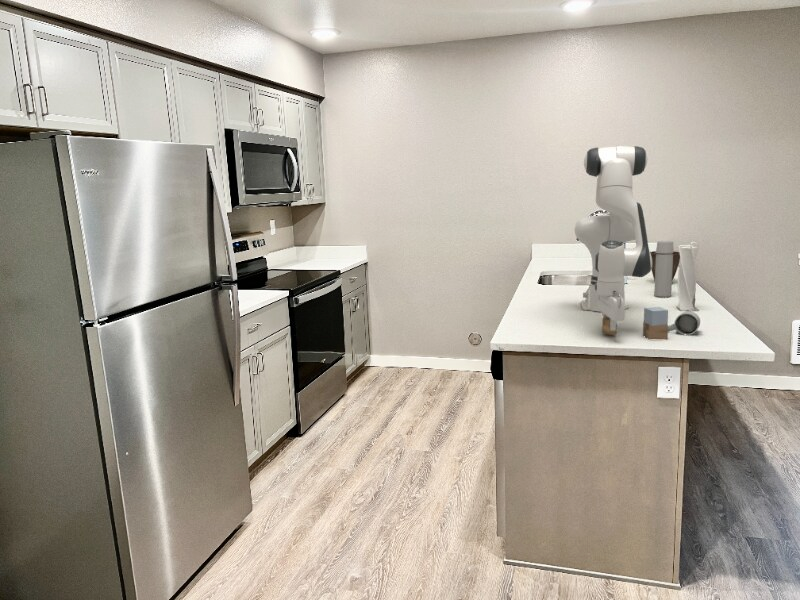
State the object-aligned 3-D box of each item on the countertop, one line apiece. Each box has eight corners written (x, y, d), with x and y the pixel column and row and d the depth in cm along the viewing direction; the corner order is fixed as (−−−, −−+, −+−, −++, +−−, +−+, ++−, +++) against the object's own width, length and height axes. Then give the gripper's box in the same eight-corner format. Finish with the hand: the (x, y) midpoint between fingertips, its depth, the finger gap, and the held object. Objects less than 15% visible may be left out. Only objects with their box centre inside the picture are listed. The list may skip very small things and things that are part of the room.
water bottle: (674, 297, 269) (677, 242, 264) (657, 298, 269) (659, 242, 265) (666, 294, 278) (668, 240, 273) (649, 294, 278) (651, 241, 274)
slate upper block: (643, 322, 205) (644, 307, 205) (658, 321, 206) (659, 306, 205) (652, 325, 200) (652, 311, 199) (667, 324, 201) (668, 310, 200)
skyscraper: (700, 311, 239) (703, 242, 234) (678, 311, 241) (681, 242, 236) (694, 307, 247) (697, 240, 242) (673, 307, 249) (676, 240, 244)
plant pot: (656, 280, 316) (658, 250, 313) (685, 283, 305) (686, 251, 302) (642, 284, 307) (643, 253, 304) (670, 287, 295) (672, 254, 292)
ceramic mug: (700, 330, 210) (701, 309, 209) (698, 336, 203) (699, 314, 202) (667, 328, 216) (668, 307, 214) (664, 333, 209) (665, 312, 207)
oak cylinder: (600, 331, 211) (600, 317, 210) (614, 330, 211) (614, 316, 210) (604, 334, 206) (604, 320, 205) (618, 334, 206) (619, 320, 205)
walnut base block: (642, 335, 207) (643, 321, 206) (660, 335, 207) (660, 321, 206) (649, 340, 201) (650, 325, 200) (667, 339, 201) (668, 325, 200)
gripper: (630, 294, 195) (629, 335, 198) (610, 283, 215) (609, 320, 218) (610, 294, 196) (609, 335, 198) (593, 283, 216) (592, 321, 218)
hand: (609, 327), depth 208 cm, fingers closed on oak cylinder, 5 cm apart
